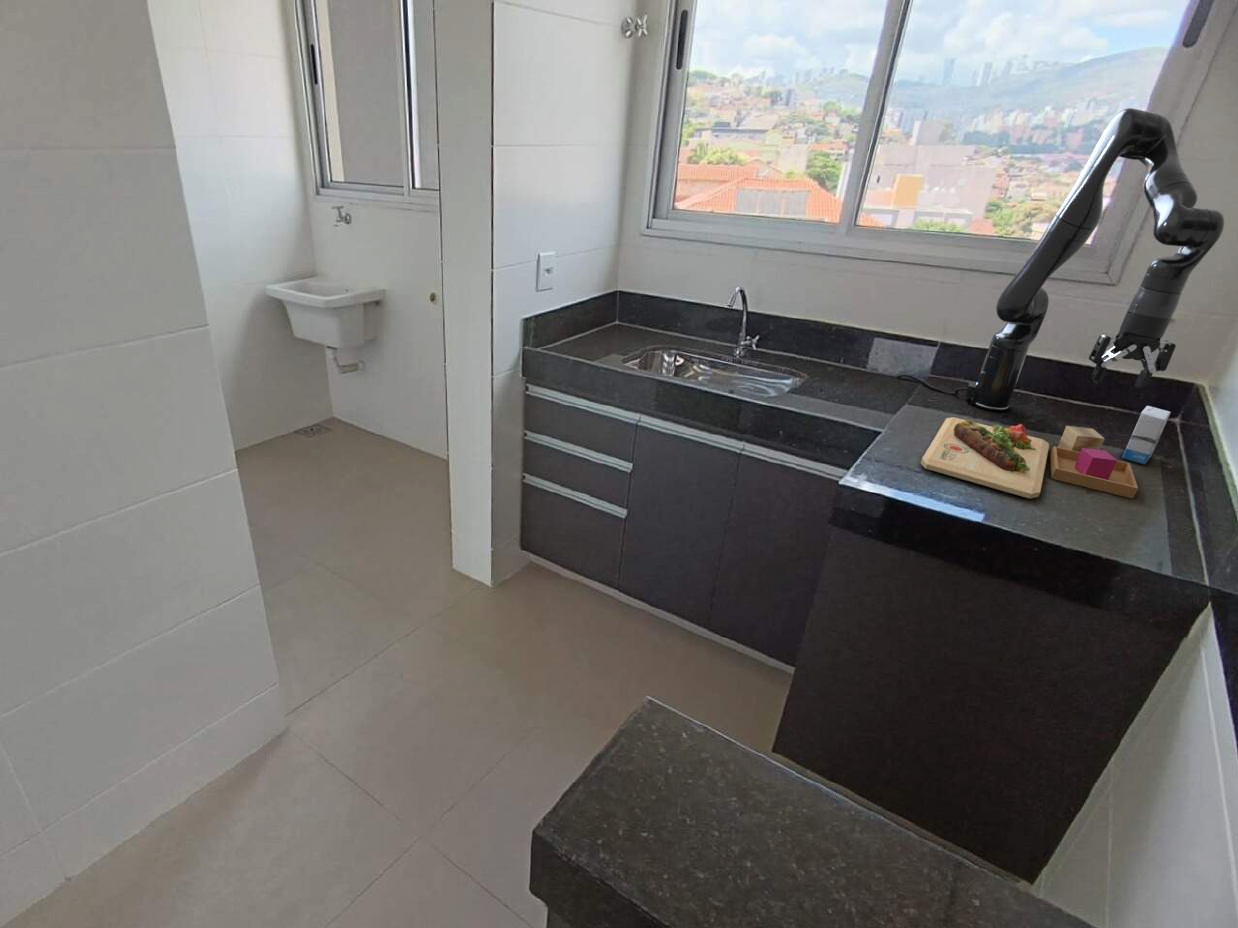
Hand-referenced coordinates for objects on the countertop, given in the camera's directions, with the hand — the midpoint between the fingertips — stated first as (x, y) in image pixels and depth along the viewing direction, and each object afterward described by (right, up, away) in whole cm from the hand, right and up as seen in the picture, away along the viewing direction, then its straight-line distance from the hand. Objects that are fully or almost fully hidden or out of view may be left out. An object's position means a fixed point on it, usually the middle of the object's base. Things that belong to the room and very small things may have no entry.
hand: (1117, 385), depth 143 cm
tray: (-2, -20, +6) cm, 21 cm away
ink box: (+17, -16, +17) cm, 29 cm away
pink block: (-2, -19, +5) cm, 20 cm away
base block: (+2, -15, +16) cm, 22 cm away
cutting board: (-22, -16, +11) cm, 30 cm away
